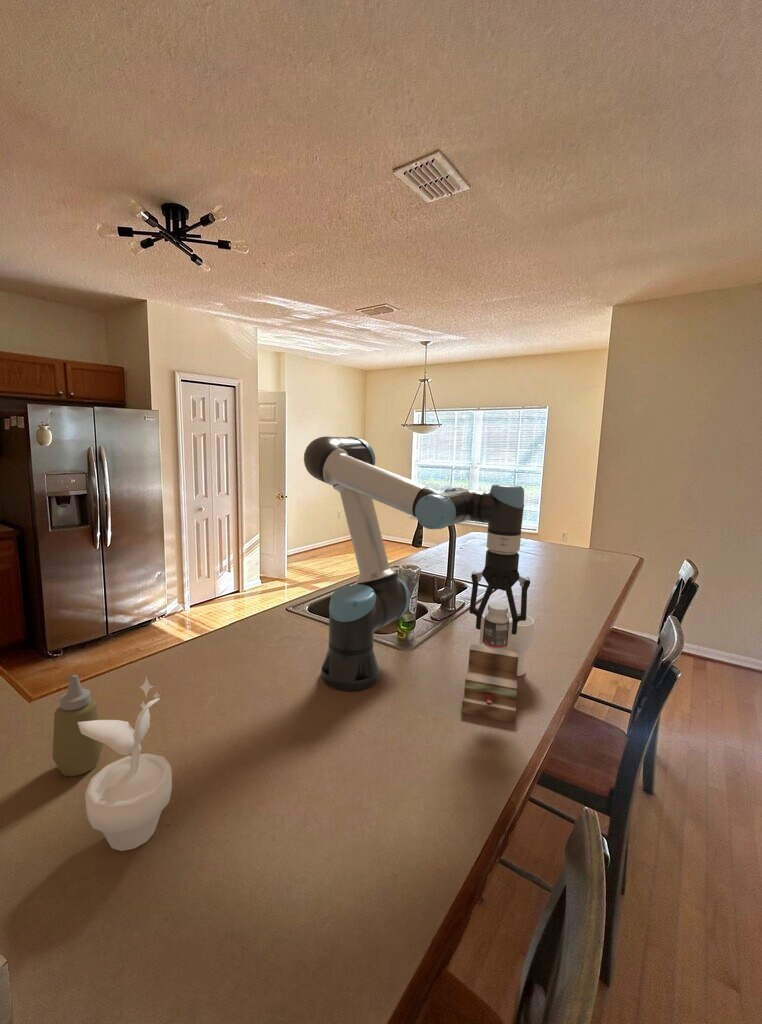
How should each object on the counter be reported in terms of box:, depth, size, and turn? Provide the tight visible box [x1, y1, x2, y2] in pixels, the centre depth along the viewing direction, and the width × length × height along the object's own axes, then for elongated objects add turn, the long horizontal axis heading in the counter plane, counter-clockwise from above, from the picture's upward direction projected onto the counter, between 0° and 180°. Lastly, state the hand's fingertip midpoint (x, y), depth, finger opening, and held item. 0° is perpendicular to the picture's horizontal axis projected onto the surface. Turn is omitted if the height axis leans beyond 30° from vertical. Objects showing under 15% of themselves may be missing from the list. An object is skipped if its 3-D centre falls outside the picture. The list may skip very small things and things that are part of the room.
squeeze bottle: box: [52, 674, 105, 777], centre depth 84 cm, size 8×8×18 cm
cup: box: [504, 611, 536, 677], centre depth 128 cm, size 11×11×15 cm
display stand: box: [461, 643, 518, 724], centre depth 113 cm, size 12×16×10 cm
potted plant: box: [78, 676, 173, 852], centre depth 70 cm, size 13×12×25 cm
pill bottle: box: [482, 602, 509, 650], centre depth 111 cm, size 6×6×10 cm
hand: (494, 643), depth 111 cm, fingers closed on pill bottle, 6 cm apart
